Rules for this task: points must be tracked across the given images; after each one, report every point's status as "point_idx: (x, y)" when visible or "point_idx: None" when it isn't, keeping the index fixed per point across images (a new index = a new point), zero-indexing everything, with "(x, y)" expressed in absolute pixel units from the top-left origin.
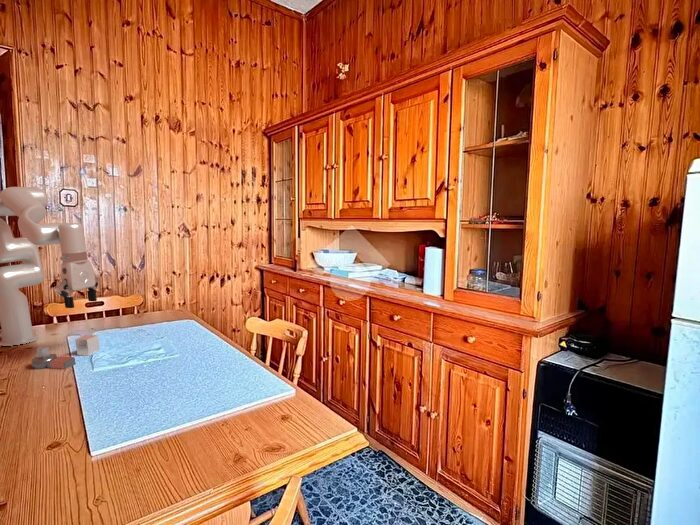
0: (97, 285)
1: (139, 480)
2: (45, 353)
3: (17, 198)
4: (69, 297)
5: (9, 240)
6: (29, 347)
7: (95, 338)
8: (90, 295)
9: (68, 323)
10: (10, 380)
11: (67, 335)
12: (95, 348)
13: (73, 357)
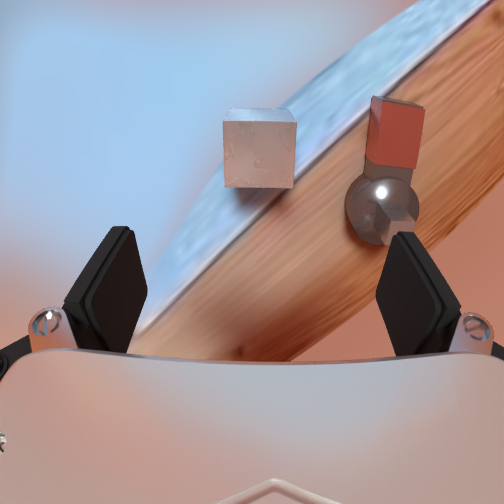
0: (2, 351)
1: None
2: (398, 211)
3: None
4: (447, 322)
5: None
6: (235, 355)
7: (242, 118)
8: (124, 306)
9: None
10: (463, 209)
11: (135, 339)
12: (251, 111)
13: (386, 102)
